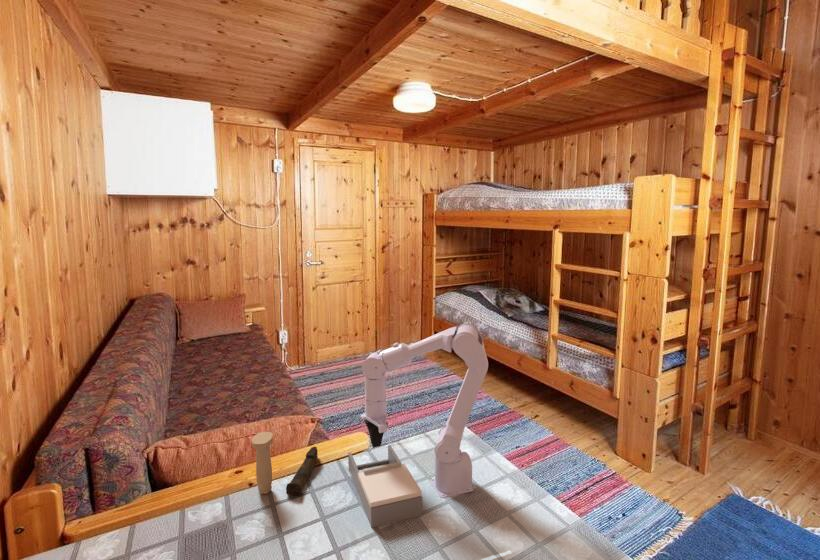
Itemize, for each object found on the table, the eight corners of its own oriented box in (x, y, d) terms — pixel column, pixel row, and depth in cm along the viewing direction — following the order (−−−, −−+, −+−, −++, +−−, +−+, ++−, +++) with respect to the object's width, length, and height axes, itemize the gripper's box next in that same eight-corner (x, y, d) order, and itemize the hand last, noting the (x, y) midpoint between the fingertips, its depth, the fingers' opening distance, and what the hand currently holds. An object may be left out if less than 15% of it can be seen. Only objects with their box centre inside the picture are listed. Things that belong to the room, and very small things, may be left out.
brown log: (300, 498, 110) (300, 482, 109) (285, 497, 110) (285, 480, 110) (325, 459, 128) (325, 444, 128) (312, 457, 129) (312, 443, 128)
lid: (404, 467, 114) (404, 460, 114) (421, 495, 102) (421, 487, 102) (358, 477, 110) (358, 469, 110) (370, 507, 98) (370, 499, 98)
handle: (252, 499, 109) (249, 444, 107) (259, 484, 115) (256, 432, 113) (271, 498, 110) (268, 443, 107) (277, 483, 116) (274, 431, 114)
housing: (390, 461, 126) (390, 445, 126) (422, 516, 103) (422, 497, 102) (348, 469, 122) (348, 452, 122) (371, 529, 98) (371, 509, 98)
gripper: (354, 390, 120) (355, 435, 122) (367, 411, 106) (368, 462, 108) (379, 386, 122) (379, 431, 124) (394, 407, 109) (395, 457, 110)
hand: (376, 445), depth 116 cm, fingers closed
